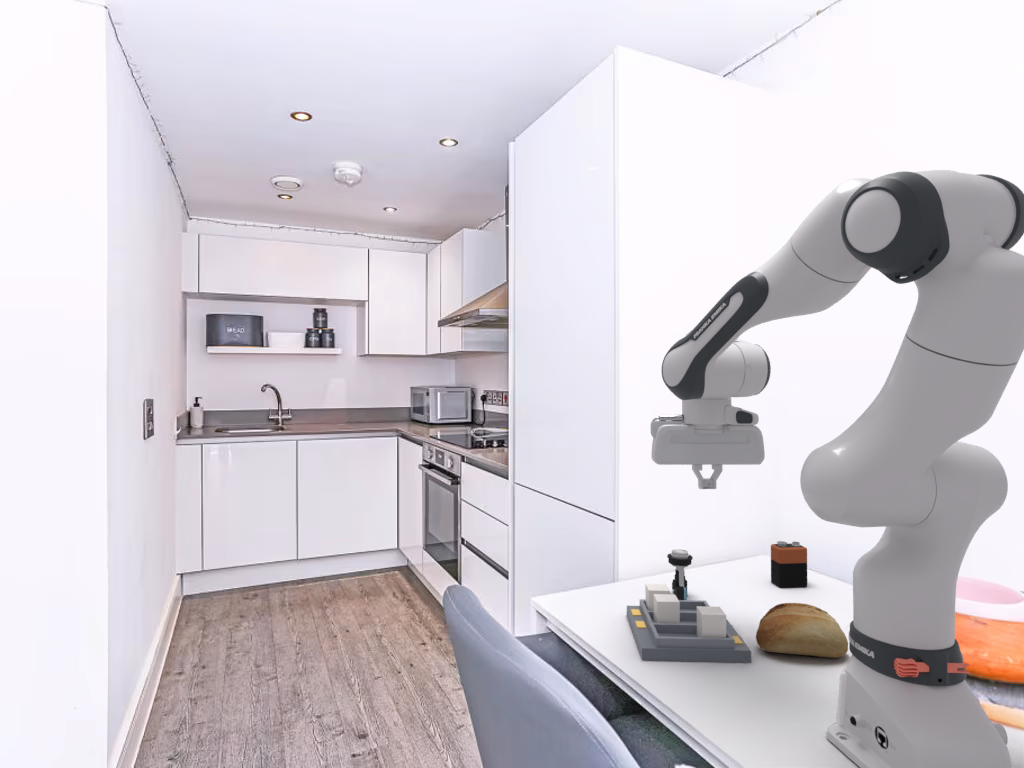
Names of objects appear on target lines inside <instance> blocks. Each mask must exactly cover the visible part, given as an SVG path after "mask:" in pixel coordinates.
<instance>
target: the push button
mask: <svg viewBox="0 0 1024 768" xmlns="http://www.w3.org/2000/svg"><path fill="white" fill-rule="evenodd" d="M666 555H667V556H666V557H667V559H668V564H670V565H671V566H672V567H675V574H674V579H672V582H671V590H672V594H675V595H676V597H677V599H678V600H688V580H687V579H686V576H685V568H688V567H689V566H690V565H692V561H693V556H692V555H691V554H689V551H688V550H685V549H679V548H678V549H672V550H671V553H668V554H666Z"/></svg>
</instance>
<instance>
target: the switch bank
mask: <svg viewBox="0 0 1024 768" xmlns="http://www.w3.org/2000/svg"><path fill="white" fill-rule="evenodd" d="M679 602H680V623H654V611H649V610H647V608H646V598H645V599H642V598H641V599H639V605H626V617H627V621H628V623H629V626H630V629H631V633H632V635H633V638H634V642H635V644H636V646H637V647H636V648H637V650H638V653H639V656H640V658H641V661H656V662H657V661H662V662H663V661H664V662H665V661H666V662H670V661H671V662H701V663H702V662H703V663H704V662H708V663H709V662H710V663H744V664H745V663H748V664H749V663H750V664H751V663H752V650H751V648H750V647H749V646H748V645H747V643H746V642H745V641H744V640H743V638H742V637H741V636H740V634H739V633H738V632H737V631H736V629H735V627H734V626H733V625H732V624H731V622H730V621H729V620H728V619H727V618H726V638H714V637H698V636H697V606H710V604H709V603H708V601H707V600H699V599H698V600H694V599H693V600H691V599H687V600H679Z"/></svg>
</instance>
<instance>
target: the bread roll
mask: <svg viewBox="0 0 1024 768" xmlns="http://www.w3.org/2000/svg"><path fill="white" fill-rule="evenodd" d="M755 640H756V643H757V646H758V647H759V648H760V649H761V650H763V651H766V652H768V653H779V654H788V655H789V654H790V655H802V656H812V657H822V658H831V659H837V658H843V656H845V655H846V654H847V652H848V651H849V640H848V637H847V636H846V634H845V633H844V631H843V630H842V628H841V626H840V624H839V622H837V620H836V619H835V618H834V617H833V616H832V615H830V614H829V612H828V611H826V610H824V609H821V608H820V607H817V606H815V605H812V604H808V603H803V602H802V603H800V602H784V603H779V604H776V605H774V606H773V607H771V608H770V609H769V610H768V611H767V612H766V613H765V615H763V616H762V618H761V619H760V621H759V625H758V628H757V631H756V634H755Z"/></svg>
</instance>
